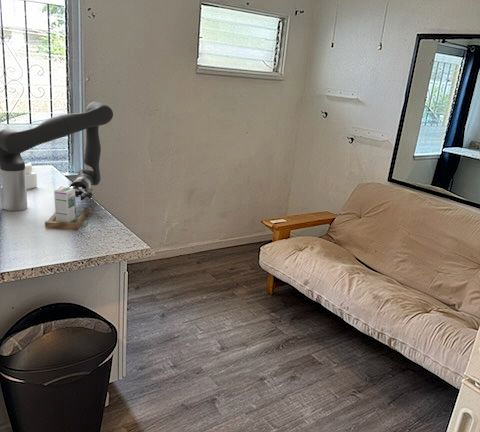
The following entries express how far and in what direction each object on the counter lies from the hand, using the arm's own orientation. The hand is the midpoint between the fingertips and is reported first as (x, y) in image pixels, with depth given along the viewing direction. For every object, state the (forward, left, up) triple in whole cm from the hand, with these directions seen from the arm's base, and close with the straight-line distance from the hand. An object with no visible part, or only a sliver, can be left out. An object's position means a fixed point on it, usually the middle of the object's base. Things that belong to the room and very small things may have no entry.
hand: (70, 197), depth 184 cm
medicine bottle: (-30, +35, -8) cm, 47 cm away
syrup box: (0, -9, -8) cm, 12 cm away
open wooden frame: (+1, -4, -8) cm, 9 cm away
